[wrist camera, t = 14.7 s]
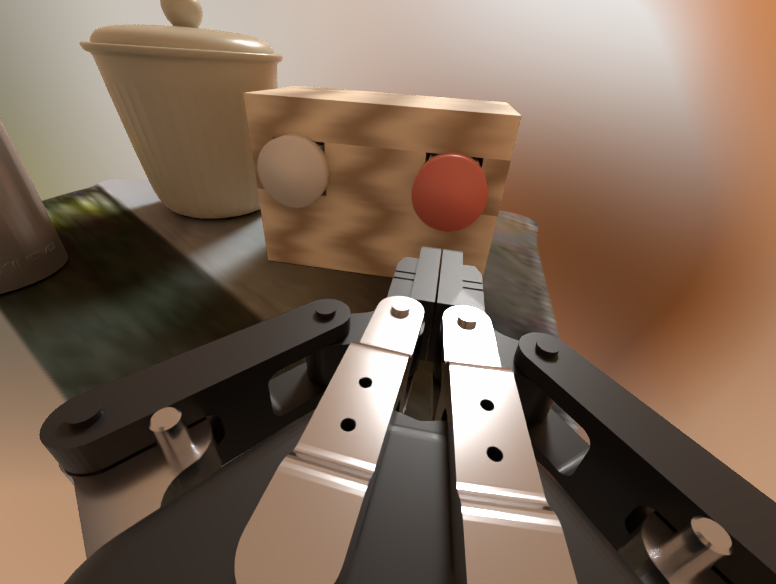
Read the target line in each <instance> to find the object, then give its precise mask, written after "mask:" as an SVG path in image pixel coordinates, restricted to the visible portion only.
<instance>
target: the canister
mask: <svg viewBox="0 0 776 584" xmlns="http://www.w3.org/2000/svg"><path fill="white" fill-rule="evenodd" d="M160 2H161V7H162V10H163V12H164V14H165V16H166V18H167V19H168V20H169V21H170V22H171V24H172V25H173V26H161V25H113V26H106V27H101V28H98V29H96V30H95V31H94V32H93V33H92V35H91V38H90V42H80V45H81V47H82V48H83V49H84V50H86V51H88V52H90V53H91V54H92V55H93V57H94V59H95V62H96V64H97V66H98V69H99V71H100V73H101V75H102V78H103V80H104V82H105V85H106V87H107V89H108V92H109V94H110V96H111V98H112V101H113V103H114V105H115V107H116V109H117V112H118V114H119V116H120V118H121V121H122V123H123V125H124V128H125V130H126V132H127V134H128V137H129V139H130V141H131V143H132V145H133V148H134V150H135V152H136V154H137V156H138V158H139V160H140V163H141V165H142V167H143V169H144V171H145V173H146V175H147V177H148V179H149V181H150V183H151V185H152V187H153V189H154V191H155V193H156V194H157V196H158V198H159V199H160V200H161V202H162V203H163V204H164V205H165V206H167V207H168V208H169V209H170V210H172V211H174V212H176V213H178V214H181V215H184V216H190V217H194V218H207V219H210V218H215V219H217V218H227V217H235V216H241V215H244V214H248V213H252V212H254V211H257V210H260V209H261V208H260V201H259V195H258V188H257V181H256V174H255V168H254V161H253V154H252V147H251V141H250V134H249V127H248V121H247V114H246V107H245V100H244V94H243V93H246V92H253V91H261V90H269V89H277V64H278V62H280V61H281V60H282V55H280V54H274V51H273V49H272V48H271V47H270V45H268V44H267V43H266V42H264V41H263V40H260V39H257V38H255V37H251V36H247V35H242V34H237V33H231V32H224V31H217V30H209V29H199V28H198V27H199V25H200V23H201V21H202V8H201V5H200V3H199V1H198V0H160Z"/></svg>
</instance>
